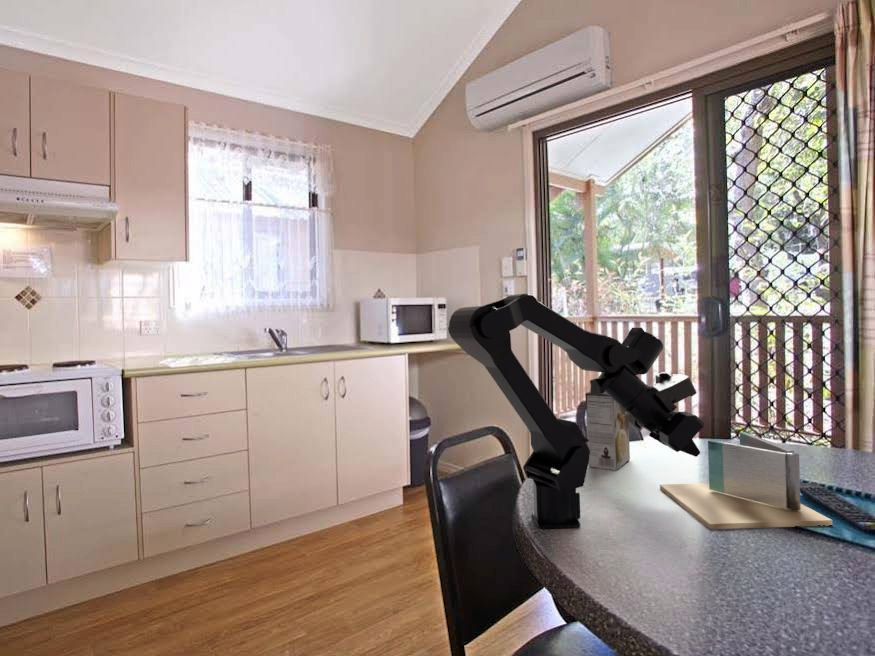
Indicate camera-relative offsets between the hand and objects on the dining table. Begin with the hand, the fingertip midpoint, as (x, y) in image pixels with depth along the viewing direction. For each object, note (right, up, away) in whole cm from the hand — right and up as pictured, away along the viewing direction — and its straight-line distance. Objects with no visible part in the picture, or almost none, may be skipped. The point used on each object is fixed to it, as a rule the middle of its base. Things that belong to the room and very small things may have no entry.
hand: (697, 454), depth 88 cm
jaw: (+7, -6, -4) cm, 10 cm away
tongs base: (+5, -8, -3) cm, 10 cm away
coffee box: (-8, -8, +23) cm, 25 cm away
